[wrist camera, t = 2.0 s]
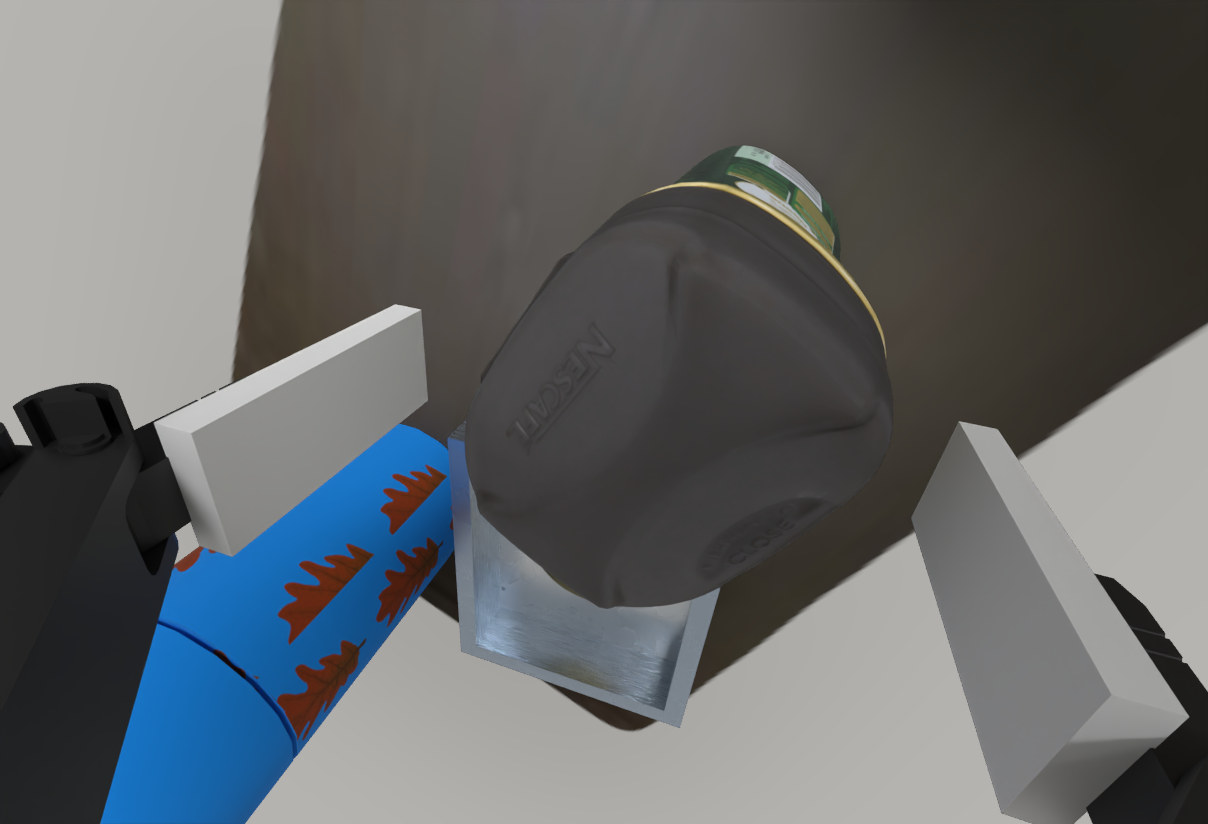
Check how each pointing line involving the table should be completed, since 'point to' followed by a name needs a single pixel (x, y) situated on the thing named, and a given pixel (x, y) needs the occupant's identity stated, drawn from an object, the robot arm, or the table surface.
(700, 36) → the table surface
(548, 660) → the open grey metal box
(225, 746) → the thermos
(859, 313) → the coffee jar
